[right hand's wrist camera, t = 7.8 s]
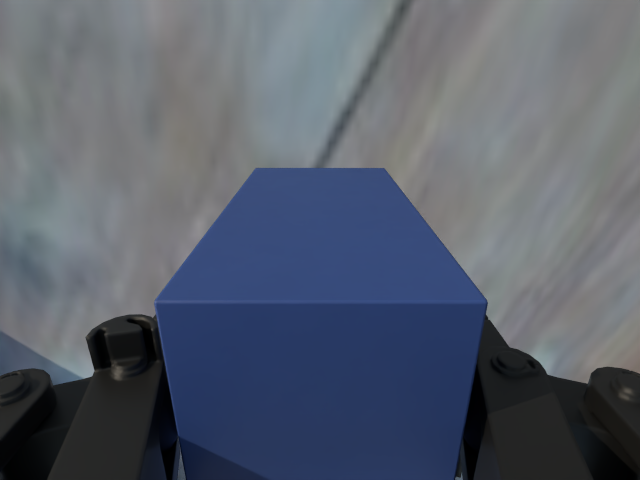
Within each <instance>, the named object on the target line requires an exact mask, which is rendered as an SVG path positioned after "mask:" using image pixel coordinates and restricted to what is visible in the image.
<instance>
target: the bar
mask: <svg viewBox="0 0 640 480" xmlns="http://www.w3.org/2000/svg"><path fill="white" fill-rule="evenodd" d="M487 304H488V302H487V300H486V298H485V297H484V296H483V295H482V293H481V292H480V291H479V289H478V288H477V287H476V286H475V284H474V283H473V282H472V280H471V279H470V278H469V277H468V275H467V274H466V273H465V271H464V270H463V269H462V268H461V266H460V265H459V264H458V262H457V261H456V260H455V259H454V257H453V256H452V255H451V253H450V252H449V251H448V250H447V248H446V247H445V246H444V244H443V243H442V242H441V241H440V239H439V238H438V237H437V235H436V234H435V233H434V232H433V230H432V229H431V228H430V226H429V225H428V224H427V223H426V221H425V220H424V219H423V217H422V216H421V215H420V214H419V212H418V211H417V210H416V208H415V207H414V206H413V205H412V203H411V202H410V201H409V199H408V198H407V197H406V196H405V194H404V193H403V192H402V190H401V189H400V188H399V187H398V185H397V184H396V183H395V181H394V180H393V179H392V178H391V176H390V175H389V174H388V172H387V171H386V170H385V169H384V168H256V169H255V170H254V171H253V172H252V174H251V175H250V176H249V178H248V179H247V180H246V182H245V183H244V184H243V186H242V187H241V188H240V189H239V191H238V192H237V193H236V195H235V196H234V197H233V199H232V200H231V201H230V203H229V204H228V205H227V206H226V208H225V209H224V210H223V212H222V213H221V214H220V216H219V217H218V218H217V220H216V221H215V222H214V224H213V225H212V226H211V227H210V229H209V230H208V231H207V233H206V234H205V235H204V237H203V238H202V239H201V241H200V242H199V243H198V244H197V246H196V247H195V248H194V250H193V251H192V252H191V254H190V255H189V256H188V258H187V259H186V260H185V262H184V263H183V264H182V265H181V267H180V268H179V269H178V271H177V272H176V273H175V275H174V276H173V277H172V279H171V280H170V281H169V283H168V284H167V285H166V286H165V288H164V289H163V290H162V292H161V293H160V294H159V296H158V297H157V298H156V300H155V302H154V305H155V310H156V316H157V321H158V327H159V332H160V338H161V344H162V349H163V355H164V360H165V366H166V371H167V377H168V382H169V388H170V393H171V399H172V404H173V410H174V416H175V421H176V427H177V432H178V438H179V443H180V449H181V454H182V460H183V465H184V471H185V477H186V480H455V477H456V472H457V466H458V461H459V455H460V450H461V445H462V439H463V434H464V428H465V423H466V418H467V412H468V407H469V401H470V396H471V391H472V385H473V380H474V375H475V369H476V364H477V358H478V353H479V348H480V342H481V337H482V331H483V326H484V321H485V315H486V310H487Z"/></svg>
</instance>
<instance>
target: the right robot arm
mask: <svg viewBox="0 0 640 480" xmlns="http://www.w3.org/2000/svg"><path fill="white" fill-rule="evenodd" d="M86 340H87V344H88V348H89V351H90V355H91V359H92V363H93V366H94V370H95V372H94V374H93V376H92V377H89V378H85V379H81V380H77V381H72V382H67V383H63V384H58V385H53V384H52V381H51V378H50V375H49V374H48V373H47V372H45V371H44V370H40V369H24V370H18V371H13V372H11V373H7V374H4V375H2V376H0V480H177V477H178V467H179V458H180V447H179V441H178V432H177V427H176V421H175V416H174V410H173V404H172V399H171V393H170V388H169V382H168V377H167V371H166V366H165V360H164V355H163V349H162V344H161V338H160V332H159V327H158V321H157V316H156V315H155V316H154V318H152V317H150V316H146V315H126V316H121V317H116V318H113V319H111V320H108V321H106V322H103V323H102V324H100V325H98V326H97V327H95V328H94V329H92V330H91V331H90V333H89V334H88V335H87V336H86ZM461 473H462V476H463V480H640V374H639V373H636V372H633V371H629V370H626V369H622V368H614V367H603V368H597V369H596V370H595V371H594V372H592V373H591V376H590V379H589V382H588V384H586V383H581V382H576V381H571V380H567V379H562V378H557V377H554V376H550V375H547V373H546V371H545V369H544V368H543V367H542V365H541V364H540V363H539V362H538V361H537V360H536V359H534V358H533V357H532V356H530V355H529V354H526V353H524V352H522V351H520V350H518V349H514V348H510V347H509V346H508V345H507V343H506V342H505V340H504V339H503V338H502V336H501V335H500V334H499V332H498V331H497V329H496V328H495V327H494V325H493V324H492V322H491V321H490V320H488V317H487V315H485V321H484V326H483V331H482V337H481V342H480V348H479V353H478V358H477V364H476V369H475V375H474V380H473V385H472V391H471V396H470V401H469V407H468V412H467V418H466V423H465V428H464V434H463V439H462V445H461V450H460V455H459V461H458V466H457V472H456V477H460V478H461Z"/></svg>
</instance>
